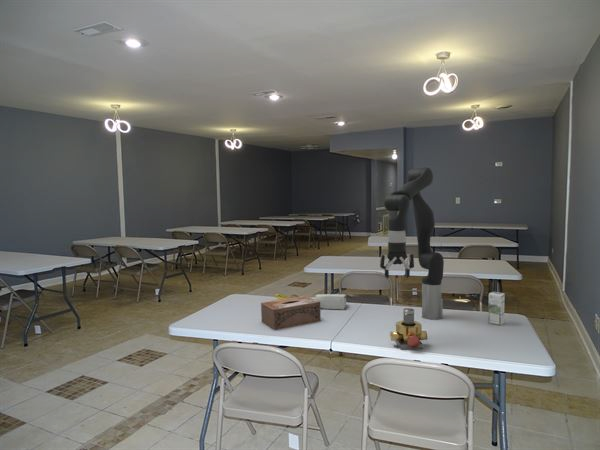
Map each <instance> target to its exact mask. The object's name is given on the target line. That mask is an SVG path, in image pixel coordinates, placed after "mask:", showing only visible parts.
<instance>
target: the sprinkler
mask: <svg viewBox="0 0 600 450" xmlns="http://www.w3.org/2000/svg"><path fill="white" fill-rule="evenodd" d="M294 297H299V296H298V294H297V293H294V294H292V295H291V296H290V297H288V296H286V295H285V296H284V295H282V294H280V293H279V294H278V293H276V294H275V295H274V298H277V300H282V299H288V298H294Z"/></svg>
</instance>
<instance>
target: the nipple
mask: <svg viewBox="0 0 600 450" xmlns="http://www.w3.org/2000/svg"><path fill="white" fill-rule="evenodd" d="M403 320H404V322H403V325H404V326H414V321H415V309H414V308H410V307H405V308H403Z"/></svg>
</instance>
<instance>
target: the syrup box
mask: <svg viewBox="0 0 600 450" xmlns="http://www.w3.org/2000/svg"><path fill="white" fill-rule="evenodd" d="M505 298H506V297H505V293H504V292H497V291H491V292H489V293H488V318H487V319H488V324H491V325H497V326H501V325H503V324H504V323H505Z"/></svg>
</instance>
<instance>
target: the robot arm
mask: <svg viewBox="0 0 600 450" xmlns="http://www.w3.org/2000/svg"><path fill="white" fill-rule="evenodd" d="M433 179H434V176H433V171H432V170H431V168H430V167H418V168H417V167H416V168H411V169H409V170H408V172H407V182H406V183H404V184H403V185H402V186H401V187H400V188H398V190H396V191H393V192H391V193H389V194H387V196H386V197H385V198H384V201H383V206H384V208H385V210H386V211H389V212H398V213H397V215H395V216H390V217H389V218H388V234H387V249H388V250H387V254H382V253H381V254H380V262H379V267H380V269H382V270H384V277H385V278H386V279H390V277H389V276H390V275H389V274H390V272H389V271H390V270H389V269H390V267H392V265H403V266H404V267H405V272H404V273H405V274H404V275H405V278H406V279H408V278H409V277H410V276H411V275H410V274H411V273H410V272H411V269H413V268H414V267H415V262H414V260H415V259H414V254H413V253H409V254H408V253H407V235H406V220H407V215H408V211H409V208H410V201H412V202H411V203H412V208H413V217H414V225H415V229H416V230H415V231H416V239H417V256H418V258H417V259H418V263H419V265H420V268H422V269H424V270H428V272H427V273H428V274H427V275H426V276H423V277H422V278H421V317H422V318H423V319H428V320H439V319H443V317H444V316H443V309H444V308H443V305H444V304H443V302H444V300H443V298H442V280H443V278H444V263H445V261H444V257H443V255H442V254H441V253H440V252H436V251H432V248H431V237H432V235H433V232H434V230H435V226H436V223H435V215H434V211H433V209H432V208H431V207H430V206H429V204H428V203H427V202H426V201H425V199H424V198H423V196H422V194H421V191H422V190H424V189H426V188H427V187H429V186H430V185H432V183H433ZM406 259H408V260H409V264H408V263H407V262H406V261H405V260H406ZM386 260H388V261H387V262H386V264H385V261H386Z"/></svg>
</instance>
